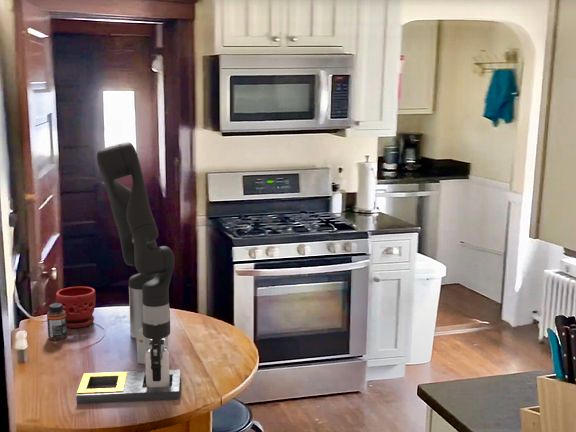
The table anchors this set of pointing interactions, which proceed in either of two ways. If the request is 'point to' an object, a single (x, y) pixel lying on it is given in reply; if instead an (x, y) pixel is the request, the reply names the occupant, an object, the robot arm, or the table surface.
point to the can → (164, 370)
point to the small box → (144, 345)
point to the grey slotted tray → (125, 388)
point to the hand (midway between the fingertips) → (157, 375)
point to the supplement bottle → (56, 322)
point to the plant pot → (77, 305)
